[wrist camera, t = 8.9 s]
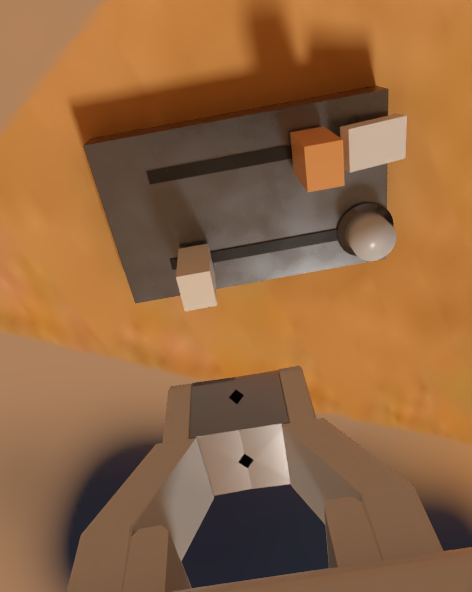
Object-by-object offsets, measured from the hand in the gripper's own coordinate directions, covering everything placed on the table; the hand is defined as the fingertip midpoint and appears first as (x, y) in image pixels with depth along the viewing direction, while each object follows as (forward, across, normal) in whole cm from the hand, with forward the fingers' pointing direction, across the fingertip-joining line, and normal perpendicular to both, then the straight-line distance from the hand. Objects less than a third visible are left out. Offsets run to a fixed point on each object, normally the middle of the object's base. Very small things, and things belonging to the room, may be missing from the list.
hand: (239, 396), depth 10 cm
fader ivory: (+19, +2, +6) cm, 20 cm away
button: (+20, -9, +6) cm, 22 cm away
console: (+22, -2, +3) cm, 22 cm away
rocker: (+19, -9, 0) cm, 21 cm away
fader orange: (+19, -6, 0) cm, 20 cm away
